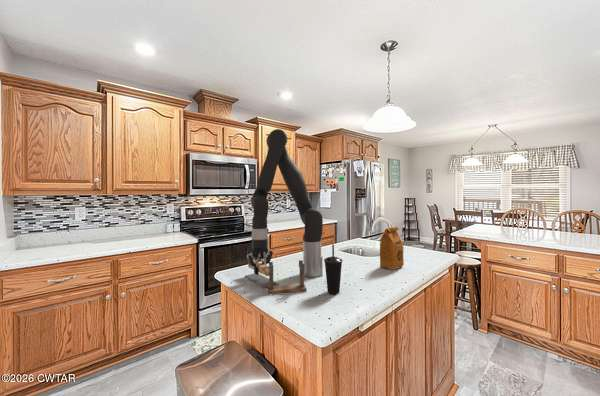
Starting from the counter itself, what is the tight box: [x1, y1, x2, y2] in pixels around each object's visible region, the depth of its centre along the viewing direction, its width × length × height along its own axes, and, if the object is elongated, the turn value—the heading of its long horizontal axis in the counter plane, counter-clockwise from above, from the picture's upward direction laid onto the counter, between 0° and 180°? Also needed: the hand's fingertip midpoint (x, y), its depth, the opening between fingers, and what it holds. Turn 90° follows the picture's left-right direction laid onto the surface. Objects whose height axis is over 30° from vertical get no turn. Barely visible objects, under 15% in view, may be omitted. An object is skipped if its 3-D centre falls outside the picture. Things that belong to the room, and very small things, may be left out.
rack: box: [267, 259, 307, 296], centre depth 107 cm, size 16×6×12 cm, turn 99°
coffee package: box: [379, 226, 404, 270], centre depth 138 cm, size 10×12×22 cm
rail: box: [247, 259, 269, 277], centre depth 120 cm, size 18×3×3 cm, turn 39°
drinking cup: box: [323, 244, 344, 296], centre depth 105 cm, size 8×8×20 cm
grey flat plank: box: [244, 272, 280, 289], centre depth 120 cm, size 20×7×1 cm, turn 39°
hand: (260, 273), depth 120 cm, fingers closed on rail, 3 cm apart
